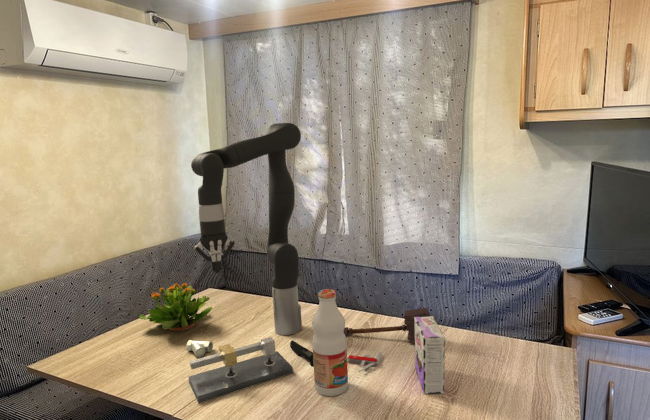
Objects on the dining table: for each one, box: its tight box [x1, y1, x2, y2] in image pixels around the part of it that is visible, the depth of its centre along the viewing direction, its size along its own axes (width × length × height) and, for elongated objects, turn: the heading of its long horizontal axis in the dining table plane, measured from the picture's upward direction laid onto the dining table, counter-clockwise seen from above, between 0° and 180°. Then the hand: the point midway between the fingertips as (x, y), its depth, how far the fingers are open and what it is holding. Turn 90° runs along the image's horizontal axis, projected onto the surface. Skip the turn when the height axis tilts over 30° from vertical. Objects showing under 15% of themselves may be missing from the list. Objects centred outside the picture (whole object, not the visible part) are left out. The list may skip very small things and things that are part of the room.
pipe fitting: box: [186, 339, 214, 358], centre depth 146 cm, size 8×4×7 cm
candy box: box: [414, 315, 446, 395], centre depth 122 cm, size 14×6×16 cm, turn 178°
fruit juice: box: [311, 288, 349, 397], centre depth 120 cm, size 9×9×28 cm
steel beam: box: [189, 336, 276, 370], centre depth 129 cm, size 24×6×7 cm, turn 119°
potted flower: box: [139, 282, 213, 332], centre depth 168 cm, size 25×24×18 cm
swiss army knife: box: [347, 351, 382, 373], centre depth 135 cm, size 12×14×2 cm
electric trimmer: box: [289, 340, 314, 367], centre depth 141 cm, size 4×16×3 cm, turn 34°
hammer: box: [344, 307, 431, 346], centre depth 150 cm, size 7×33×10 cm, turn 74°
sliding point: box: [218, 343, 238, 374], centre depth 129 cm, size 3×7×7 cm, turn 29°
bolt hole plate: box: [188, 350, 294, 404], centre depth 129 cm, size 28×12×2 cm, turn 119°
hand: (216, 272), depth 137 cm, fingers closed
